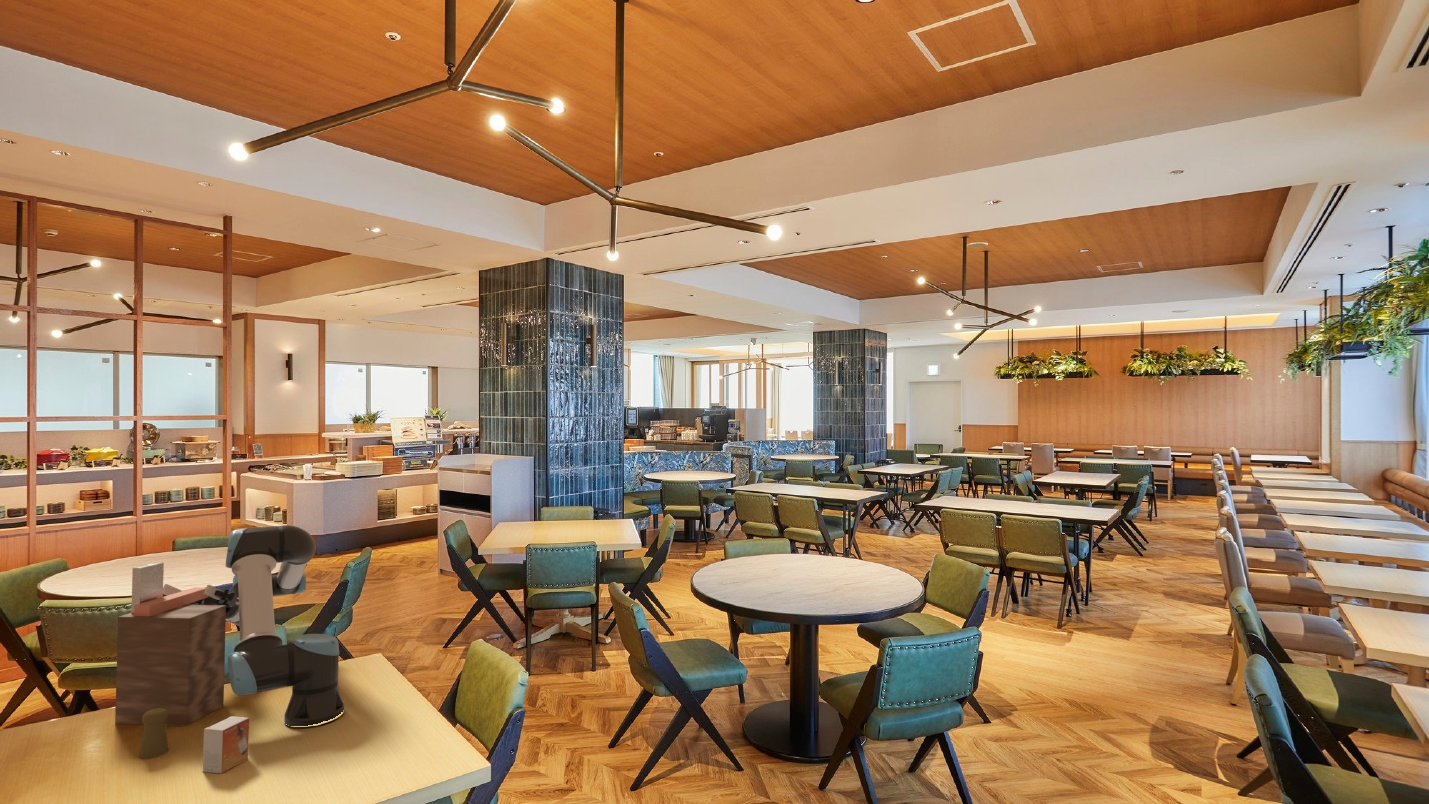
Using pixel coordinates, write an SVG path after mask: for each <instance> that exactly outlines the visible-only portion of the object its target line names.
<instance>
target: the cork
mask: <svg viewBox="0 0 1429 804" xmlns="http://www.w3.org/2000/svg"><path fill="white" fill-rule="evenodd" d="M167 716H168V713H167V711H166V709H163V708H157V709H152V710H149V711H147V712H146V713H145V714H144V715H143V717H142V722H143V724H144V725H143V726H144V728H143V731H142V732H143V733H142V739H141V742H140V743H141V744H140V747H139V748H140V749H139V753H138V758H139V759H141V760H149V759H154V758H158V757H161V756H163V755H166V753H168V752H169V751H170V750H169V743H168V742H169V741H168V735H167V729H166V727H167V726H166V725H165V720H166V719H167Z"/></svg>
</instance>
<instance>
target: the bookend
mask: <svg viewBox="0 0 1429 804" xmlns="http://www.w3.org/2000/svg"><path fill="white" fill-rule="evenodd" d="M164 565H165V562H162V561H161V562H159V561H158V562H151V563H149V564H148V563H147V564H144V565H139V566H135V567H132V577H131V578H132V579H131V582H132V584H131V607H130V609H131V612H130V613H134V605H138V604H141V603H144V602H148V601H151V600H154V599H158V598H161V597H164V594H163V587H164V569H165V567H164Z"/></svg>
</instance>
